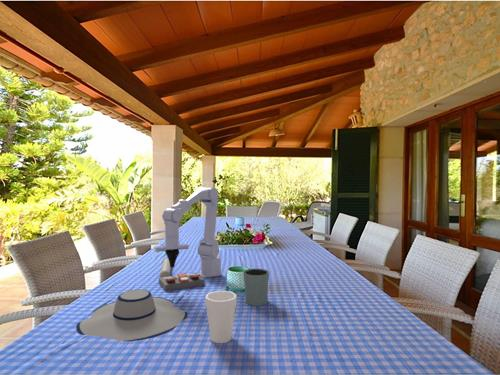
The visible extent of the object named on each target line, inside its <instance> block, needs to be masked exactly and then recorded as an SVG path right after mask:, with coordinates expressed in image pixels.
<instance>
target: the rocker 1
mask: <svg viewBox="0 0 500 375" xmlns="http://www.w3.org/2000/svg"><path fill="white" fill-rule="evenodd" d="M186 274H187V273H186V272H183V273H177V275H176V276H178V277H179V279H180V281H181V282H186V281H189V279H188V277H187V275H186Z"/></svg>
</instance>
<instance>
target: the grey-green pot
mask: <svg viewBox="0 0 500 375" xmlns="http://www.w3.org/2000/svg"><path fill="white" fill-rule="evenodd" d="M269 278H270V271H269V270H267V269H263V268H248V269H246V270H244V271H243V283H244V293H245V296H244V298H245V303H246V305H249V306H253V307H261V306H264V305H267V303H268V297H269V296H268V290H269Z"/></svg>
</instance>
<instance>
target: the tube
mask: <svg viewBox="0 0 500 375" xmlns="http://www.w3.org/2000/svg"><path fill="white" fill-rule="evenodd" d="M171 270H172V267H170V263H169V259H168V257H164V258H163V260H162V261H161V268H160V272H159V278H162V277H170V276H171Z"/></svg>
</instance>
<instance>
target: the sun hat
mask: <svg viewBox="0 0 500 375" xmlns="http://www.w3.org/2000/svg"><path fill="white" fill-rule="evenodd" d="M172 303H173V304H172ZM187 318H188V311H185V310H182V309H181V308H178V307H175V305H174V302H173V301H172V300H170V299H167V298H164V297H161V296H159V297H158V296H153V295H152V293H151V292H150V291H149V290H145V289H129V290H126V291H124V292H121V293H120V294H118V296H117V298H116V300H115V301H114V302H110V303H109V302H108V303H105V304H103V305H101V306H99V307H98V308H96V309H94V310H93V311H92V315H91V316H90V317H88V318H86V319H84V320H82V321H80V322H78V323H77V324H76V331H77V333H78V334H79V335H82V336H91V337H100V338H105V339H110V340H116V341H121V342H137V341H144V340H149V339H152V338H156V337H159V336H161V335H165V334H167V333H170V332H171V331H174V329H176V327H178V325H179V324H181V323H183V321H185V320H186V319H187Z"/></svg>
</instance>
